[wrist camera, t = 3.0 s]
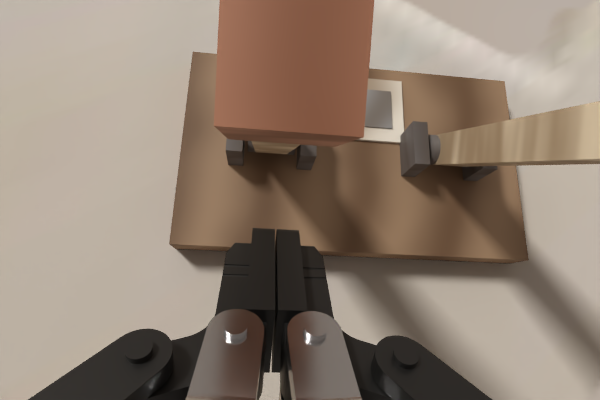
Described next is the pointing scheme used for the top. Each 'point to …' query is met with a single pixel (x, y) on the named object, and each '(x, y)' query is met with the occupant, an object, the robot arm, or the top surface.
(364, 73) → the terracotta lever
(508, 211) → the switch board
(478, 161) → the slate lever
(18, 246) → the top surface
